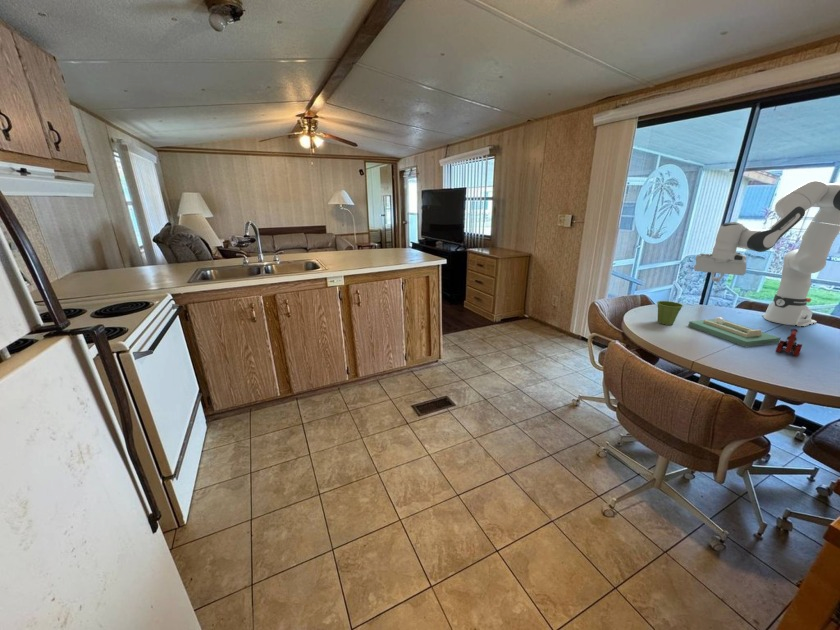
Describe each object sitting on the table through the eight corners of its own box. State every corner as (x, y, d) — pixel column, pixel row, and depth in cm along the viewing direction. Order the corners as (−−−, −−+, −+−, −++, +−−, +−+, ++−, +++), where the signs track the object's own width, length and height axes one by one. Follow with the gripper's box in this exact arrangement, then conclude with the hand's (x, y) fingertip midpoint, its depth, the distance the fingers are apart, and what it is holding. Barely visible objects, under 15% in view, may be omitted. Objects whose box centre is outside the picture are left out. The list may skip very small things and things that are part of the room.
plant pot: (683, 326, 180) (689, 306, 176) (661, 327, 180) (666, 307, 176) (668, 319, 191) (672, 300, 187) (647, 319, 191) (651, 300, 187)
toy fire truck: (800, 350, 150) (808, 329, 146) (797, 358, 142) (806, 336, 139) (778, 346, 155) (786, 325, 152) (774, 353, 148) (782, 331, 144)
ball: (717, 322, 177) (719, 315, 176) (724, 325, 173) (727, 318, 172) (710, 323, 176) (712, 316, 175) (718, 326, 173) (720, 318, 171)
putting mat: (688, 325, 180) (690, 316, 179) (718, 322, 184) (721, 313, 182) (744, 346, 154) (748, 335, 153) (778, 342, 158) (782, 332, 156)
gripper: (696, 253, 174) (690, 279, 179) (750, 257, 161) (741, 285, 166) (697, 252, 179) (691, 277, 183) (749, 255, 166) (741, 283, 170)
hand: (715, 281), depth 174 cm, fingers closed
